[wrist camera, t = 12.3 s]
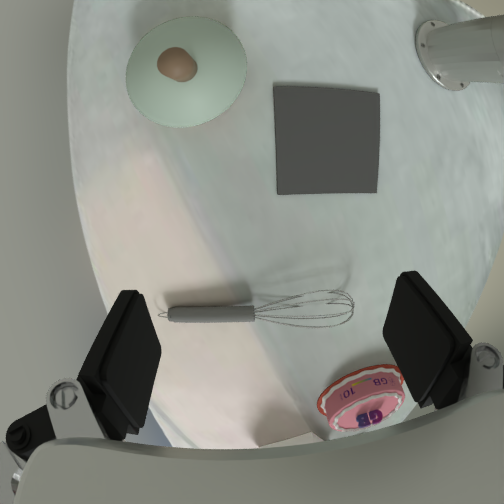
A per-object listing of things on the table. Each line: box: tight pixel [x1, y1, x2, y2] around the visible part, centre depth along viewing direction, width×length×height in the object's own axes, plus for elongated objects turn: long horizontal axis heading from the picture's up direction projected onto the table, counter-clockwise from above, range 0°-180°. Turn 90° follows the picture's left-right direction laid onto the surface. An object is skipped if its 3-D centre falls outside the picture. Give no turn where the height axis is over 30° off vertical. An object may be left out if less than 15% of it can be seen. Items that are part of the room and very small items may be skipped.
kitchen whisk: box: [158, 290, 355, 328], centre depth 45 cm, size 6×34×6 cm, turn 95°
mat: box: [273, 87, 380, 195], centre depth 35 cm, size 15×15×1 cm
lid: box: [126, 17, 247, 128], centre depth 24 cm, size 14×14×6 cm
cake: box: [317, 364, 405, 432], centre depth 59 cm, size 25×25×11 cm
